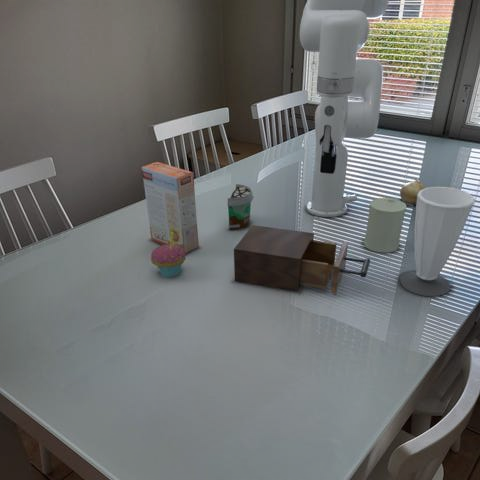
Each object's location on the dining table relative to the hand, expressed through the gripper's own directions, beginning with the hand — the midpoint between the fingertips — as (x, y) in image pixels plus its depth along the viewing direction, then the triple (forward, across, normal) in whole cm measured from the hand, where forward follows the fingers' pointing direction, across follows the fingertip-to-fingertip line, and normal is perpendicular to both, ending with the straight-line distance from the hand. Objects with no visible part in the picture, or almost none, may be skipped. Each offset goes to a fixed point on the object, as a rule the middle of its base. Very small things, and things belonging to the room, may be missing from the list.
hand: (327, 171), depth 110 cm
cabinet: (+22, -11, +9) cm, 27 cm away
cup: (+23, -5, -26) cm, 35 cm away
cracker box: (+23, -4, +40) cm, 46 cm away
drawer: (+22, -11, -3) cm, 24 cm away
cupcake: (+23, -18, +34) cm, 45 cm away
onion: (+24, +46, -21) cm, 56 cm away
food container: (+24, +14, +26) cm, 38 cm away
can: (+23, +12, -14) cm, 30 cm away
